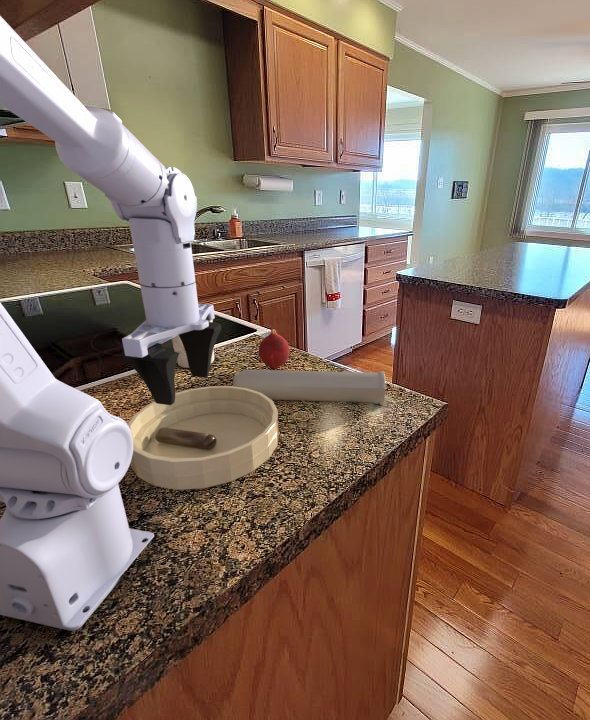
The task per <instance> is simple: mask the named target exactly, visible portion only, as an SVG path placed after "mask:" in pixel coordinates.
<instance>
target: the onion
mask: <svg viewBox="0 0 590 720" xmlns="http://www.w3.org/2000/svg"><path fill="white" fill-rule="evenodd" d="M290 354H291V351H290V345H289V343H288V342H287V339H286V338H284V337H283V336H282V335H280V334H278V332H277V330H276V329H273V328H272V329H270V333H269V334H268V335H267V336H266V337H264V338H263V339H262V340H261V342H260V343H259V347H258V356H259V360H261V362H262V363H263V364H264V365H266V366H267V367H269V368H271V370H278V368H280V367H281V366H283V365H284V364H285V363H286V362H287V361H288V359H289V358H290Z"/></svg>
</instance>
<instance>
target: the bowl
mask: <svg viewBox="0 0 590 720" xmlns="http://www.w3.org/2000/svg"><path fill="white" fill-rule="evenodd" d="M127 425H128V426H129V428H130V431H131V435H132V438H133V455H132V459H131V462H130V465H129V467H131V469H132V470H133V472H134V473H135V475H136V476H137V477H138V479H140V480H143V481H144V482H146V483H147V484H150V485H152V486H153V487H156V488H157V487H158V488H164V489H168V490H169V489H170V490H176V491H181V490H185V491H186V490H199V489H200V490H201V489H202V490H203V489H207V488H211V487H215V486H219V485H224V484H227V483H231V482H234V481H236V480H238V479H240V478H242V477H244V476H246V475H249V474H251V473H253V472H254V471H255V470H257V469H258V468H259V467H260V466H262V465H263V464H264V463H265V462H267V461H268V460H269V459H270V458H271V456H272V455H273V453H274V452H275V450H276V449H277V447H278V445H279V444H278V443H279V434H280V431H279V410H278V408H277V406H276V404H275V403H274V400H271V399H269V398H268V397H267V396H265V395H264V394H262V393H260V392H257V391H254V390H251V389H248V388H241V387H233V385H217V386H216V385H214V386H213V385H210V386H203V387H195V388H190V389H189V388H188V389H185V390H182V391H178V392H175V402H174V403H173V404H172V405H164V404H157V403H156V402H155V400H154V401H151V402H150V403H149V404H147V405H146V406H144V407H143V408H141V409H140V410H139V411H138V412H136V413H135V414H133V416H132V417H131V419H130V420H129V421H128V423H127ZM160 428H171V429H178V430H185V431H192V432H199V433H206V434H212V435H214V436H215V437H216V440H217V443H216V445H215V447H214V448H212V449H209V450H206V449H199V448H193V447H186V446H179V445H173V444H166V443H160V442H158V441H157V440H156V439H155V433H156V431H157V430H158V429H160Z"/></svg>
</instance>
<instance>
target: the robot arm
mask: <svg viewBox="0 0 590 720" xmlns="http://www.w3.org/2000/svg"><path fill="white" fill-rule="evenodd" d="M0 105H1V107H2V108H3V107H4V108H5V109H6V110H8V111H9V112H11V113H12V114H13V115H15V116H17V117H18V118H20V119H21V120H23V121H24V122H26V123H27V124H29V125H31V126H32V127H33V128H35V129H36V130H38V131H39V132H41V133H42V134H44V135H45V136H47V137H48V138H50V139H51V140H52V141H54V143H55V144H54V145H55V150H56V154H57V156H58V158H59V160H60V162H61V163H63V165H64V166H65V167H66V168H67V169H69V170H71V171H72V172H73V173H74V174H76V175H78V176H79V177H81V178H82V179H83V180H84V181H86V182H87V183H89V184H90V185H92V186H93V187H95V188H96V189H97V190H99V191H100V192H102V193H103V194H104V197H105V198H107V199H108V200H109V201H110V203H111V206H112V208H113V210H114V212H115V213H116V215H117V216H118V217H119V219H120V220H122V221H126V222H128V223H129V224H128V225H129V229H130V234H131V241H132V246H133V252H134V258H135V265H136V269H137V270H136V271H137V274H138V275H137V276H138V281H139V287H140V292H141V298H142V304H143V310H144V315H145V320H144V321H143V322H141V324H140V325H139V326H137V328H135V330H133V331H132V332H131V333H129V334H128V335H126V336H124V337H122V338H121V341H122V348H123V349H121V355H122V358H123V360H124V361H125V362H126V363H127V364H129V365H130V366H131V367H132V369H133V370H135V372H136V373H137V374H138V375H139V377H140V378H141V380H143V382H144V384H145V386H146V387H147V389H148V391H149V393H150V395H151V397H152V399H153V400H154V401H155V402H156V403H157V404H164V405H172V404H173V403H174V402H175V393H176V385H175V384H176V383H175V382H176V381H175V373H176V366H177V359H178V356H179V352H175V351H172V350H166V348H165V347H163V345H162V344H164V343H165V342H167V341H170V340H172V339H171V338H173V337H175V336H177V335H179V337H180V339H181V341H182V343H183V346H184V349H185V352H186V356H187V360H188V365H189V368H188V369H189V372H190V374H191V376H192V377H196V378H203V379H207V378H209V375H210V371H211V364H212V363H211V358H212V353H213V349H214V348H215V345H216V342H217V339H218V338H219V335H220V333H221V332H222V324H221V323H220V322H214V319H215V318H216V316H215V308H214V305H213V304H209V303H199V301H198V300H199V299H198V291H197V283H196V282H197V281H196V274H195V265H194V257H193V249H192V242H193V241H194V240H195V235H196V230H195V229H196V228H195V221H196V216H197V211H198V199H197V196H196V194H195V188H194V187H193V183H192V182H191V179H190V178H189V177H188V176H187V175H186V174H185V173H183V172H182V171H180V170H179V169H178V168H177V167H174V166H165V165H164V164H162V162H161V161H160V160H159V159H157V157H156V156H155V155H153V153H152V152H151V151H150V150H149V149H148V148H147V147H146V146H145V145H144V144H143V143H142V142H141V141H140V140H138V138H137V137H136V136H135V135H134V134H133V133H132V132H131V131H130V129H128V128H127V127H126V126H125V125H124V124H123V120H122V119H121V118H120V117H119V116H118V114H116V113H115V112H114V111H112V110H106V109H103V108H100V107H96V106H88V107H86V106H85V105H84V104H83V103H82V102H81V101H80V100H79V99H78V98H77V97H76V96H75V94H74V93H73V92H72V91H71V90H70V89H69V88H68V87H67V86H66V85H65V84H64V82H63V81H62V80H61V79H60V78H59V77H58V76H57V75H56V74H55V73H54V72H53V71H52V69H50V68H49V66H48V65H47V64H46V63H45V62H44V61H43V59H42V58H40V56H38V55H37V53H36V52H35V51H34V50H33V49H32V48H31V47H30V46H29V45H28V44H27V43H26V42H25V40H24V39H23V38H21V36H20V35H19V34H18V33H17V32H16V31H15V30H14V29H13V28H12V27H11V25H10V24H9V23H7V21H6V20H5V19H4V18H3V16H1V15H0ZM210 320H213V322H210ZM127 424H128V423H127V422H126V420H124V419H123V418H121V417H119V416H116V415H114V414H111V413H110V412H109V411H107V410H106V408H105V406H104V405H103V404H102V402H101V401H100V400H98V399H97V398H95V397H93V396H92V395H89V394H87V393H85V392H83V391H81V390H80V389H79V390H78V389H77V388H75V387H73V386H70V385H68V384H66V383H64V382H62V381H60V380H59V379H57V378H56V377H55V376H54V374H53V373H52V372H51V371H50V369H49V368H48V367H47V365H46V364H45V362H44V361H43V360H42V358H41V356H40V355H39V354H38V353H37V351H36V350H35V348H34V347H33V346H32V344H31V343H30V341H29V340H28V339H27V337H26V336H25V334H24V333H23V331H22V330H21V329H20V327H19V326H18V325H17V323H16V322H15V321H14V319H13V318H12V316H11V315H10V314H9V312H8V311H7V309H6V308H5V306H3V304H2V303H1V302H0V502H2V503H4V504H5V507H6V508H5V509H4V512H3V514H2V516H1V518H0V616H3V617H8V618H12V619H17V620H21V621H26V622H30V623H35V624H39V625H43V626H47V627H52V628H56V629H61V630H64V631H69V632H74V631H78V630H79V629H80V628H82V627H83V625H84V624H85V623H86V622H87V620H89V618H90V617H91V616H92V614H94V613H95V612H96V610H97V608H99V606H100V605H101V604H102V603H103V601H104V600H105V599H106V598H107V597H108V595H109V594H110V593H111V592H112V590H113V589H114V588H115V587H116V586H117V585H118V584H119V582H120V581H121V580H122V578H121V577H122V575H123V574H124V573H125V572H126V571H127V570H128V569H129V567H130V566H131V565H132V564H133V562H134V561H135V560H136V558H138V556H139V555H140V554H141V553H142V551H143V550H145V548H146V547H147V546H148V545H149V543H150V542H151V541H152V540H153V538H154V537H155V534H154V532H150V531H146V530H140V529H134V528H130V525H129V522H128V518H127V514H126V510H125V506H124V501H123V498H122V493H121V490H120V485H119V484H120V482H121V481H122V479H123V478H124V476H125V475H126V474H127V472H128V470H129V468H130V462H131V459H132V455H133V438H132V435H131V431H130V428H129V426H128V425H127ZM145 539H146V541H144V542H143V540H145Z"/></svg>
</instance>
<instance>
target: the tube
mask: <svg viewBox="0 0 590 720" xmlns="http://www.w3.org/2000/svg"><path fill="white" fill-rule="evenodd" d="M232 386H233V387H241V388H248V389H251V390H254V391H257V392H260V393H262V394H264V395H265V396H267V397H268V398H269V399H271V400H272V401H304V402H305V401H307V402H343V403H373V404H374V405H375V404H376V405H380V406H384V405H385V399H386V374H385V370H384V371H383V370H382V371H380V372H365V371H363V372H362V371H328V370H327V371H324V370H323V371H322V370H320V371H319V370H287V369H286V370H285V369H284V370H283V369H282V370H281V369H280V370H279V369H243V370H241V371H240V372H238V373H236V374H235V375H234V376H233V380H232Z"/></svg>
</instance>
